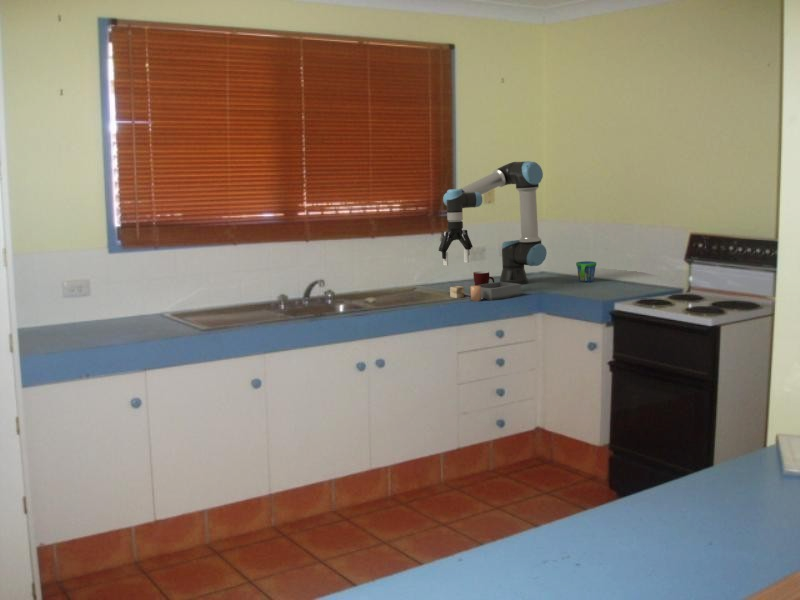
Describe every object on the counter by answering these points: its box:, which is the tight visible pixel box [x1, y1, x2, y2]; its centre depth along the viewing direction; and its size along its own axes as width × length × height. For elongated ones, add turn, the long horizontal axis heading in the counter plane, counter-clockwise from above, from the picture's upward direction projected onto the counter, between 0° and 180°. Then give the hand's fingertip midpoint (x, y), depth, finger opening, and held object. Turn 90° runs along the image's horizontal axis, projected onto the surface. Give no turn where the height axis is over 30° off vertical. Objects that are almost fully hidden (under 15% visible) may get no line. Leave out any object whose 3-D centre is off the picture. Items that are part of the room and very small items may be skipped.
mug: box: [473, 270, 495, 286], centre depth 459 cm, size 10×8×10 cm
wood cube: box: [449, 285, 465, 299], centre depth 446 cm, size 5×5×5 cm
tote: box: [469, 281, 522, 301], centre depth 442 cm, size 20×15×6 cm
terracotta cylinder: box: [470, 285, 482, 303], centre depth 432 cm, size 5×5×7 cm
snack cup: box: [576, 260, 597, 283], centre depth 479 cm, size 16×11×10 cm
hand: (456, 264), depth 444 cm, fingers open, 13 cm apart
